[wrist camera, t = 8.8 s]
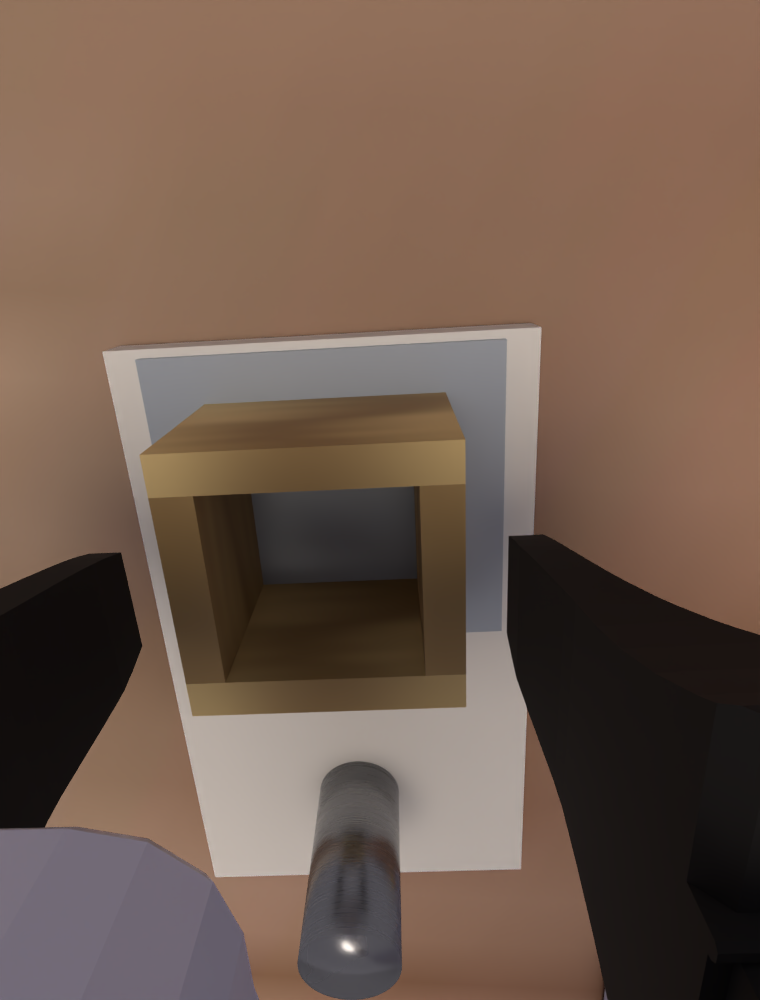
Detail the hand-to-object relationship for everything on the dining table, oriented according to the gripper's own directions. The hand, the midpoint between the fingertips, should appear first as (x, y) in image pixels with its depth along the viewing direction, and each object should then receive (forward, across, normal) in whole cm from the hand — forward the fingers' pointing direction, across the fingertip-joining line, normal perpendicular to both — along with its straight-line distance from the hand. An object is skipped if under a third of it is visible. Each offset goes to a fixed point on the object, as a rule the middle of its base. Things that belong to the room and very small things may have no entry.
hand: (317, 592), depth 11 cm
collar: (+4, 0, 0) cm, 4 cm away
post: (+5, 0, +9) cm, 11 cm away
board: (+5, 0, +4) cm, 7 cm away
